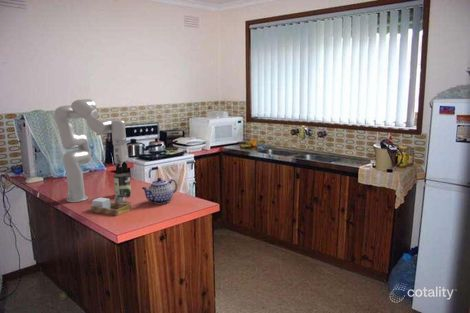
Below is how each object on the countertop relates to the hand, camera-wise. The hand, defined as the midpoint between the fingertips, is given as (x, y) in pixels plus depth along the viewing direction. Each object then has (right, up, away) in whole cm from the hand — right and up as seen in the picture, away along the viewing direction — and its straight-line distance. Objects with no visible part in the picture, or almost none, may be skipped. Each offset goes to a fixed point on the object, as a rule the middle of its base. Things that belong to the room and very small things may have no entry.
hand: (122, 172), depth 216 cm
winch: (-5, -20, +13) cm, 24 cm away
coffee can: (-9, -17, +31) cm, 36 cm away
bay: (-7, -22, +1) cm, 23 cm away
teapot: (+19, -19, +16) cm, 31 cm away
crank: (-2, -15, +11) cm, 19 cm away
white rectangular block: (-13, -22, +4) cm, 26 cm away
